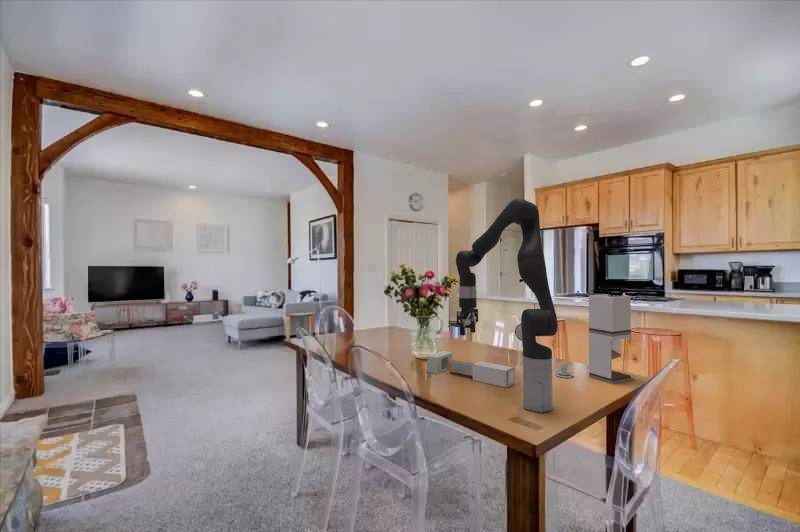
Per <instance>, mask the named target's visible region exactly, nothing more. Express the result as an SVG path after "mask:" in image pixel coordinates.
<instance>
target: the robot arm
mask: <svg viewBox="0 0 800 532" xmlns="http://www.w3.org/2000/svg"><path fill="white" fill-rule="evenodd" d="M513 223H514V224H516V225H518V226H520V228H521V234H522V242H521V245H520V247H519V250H518V253H517V259H516V260H517V267H518V274H519V277H520V278H521V280H522V281H523V282H524V284H525V285H526V287H528V288H529V290H531V292H532V293H533V295H534V296H535V298H536V300H537V302H538V305H539V308H527V309H524V310H523V311H522V313H521V318H520V324H521V328H522V341H521V344H522V346H521V347H522V363H523V364H522V367H523V368H522V370H523V371H522V376H523V377H522V378H523V379H522V380H523V381H522V384H523V385H522V387H523V388H522V391H523V393H522V394H523V398H522V399H523V402H522V403H523V409H525V410H528V411H533V412H537V413H540V414H543V413H546V412H551V411H552V410H553V351H552V348H551V347H549V346H548V345H547V346H546V345H544V344H541V343H539V342H537V337H554V336H555V335H556V334H557V332H558V326H559V325H558V324H559V323H558V318H557V317H558V316H557V313H556V309H555V305H554V302H553V298H552V294H551V290H550V286H549V280H548V273H547V266H546V259H545V256H544V251H543V243H542V237H541V227H540V226H541V225H540V224H541V223H540V213H539V208H538V206H537V205H536V204H535V203H533V202H531V201H528V200H526V199H524V198H521V197H520V198H519V197H518V198H517V197H516V198H514V199H512V200H511V201H510V202H509V203H507V205H506V206H505V207H504V209H503V210H502V211H501V213H499V215H498V216H497V218H495V220H494V221H493V222H492V224H491V225H490V226H489V227H488V228H487V230H486V231H484V233H482V234H481V235H480V236H479V237H478V238H476V240H475V241H473V243H472V244H471V250H460V251H458V252H457V254H456V257H455V265H456V268H457V273H458V277H459V287H458V307H459V308H460V309H461V310H460V311H456V326H459V335H460V336H466V325H467V323H468V322H469V323H470V324H469V328H470V329H469V330H470V331H469V332H470V333H475V334H476V324H477V323H479V309H478V308H477V304H478V303H477V301H478V300H477V277H476V274H475V273H474V272H472V271H471V269H470V268H471V267H472V268H474V267H475V266H478V264H479V263H480V262H481V261H482V260H483V258H484V257H485V255H486V254H487V253H489V252H490V251H492V249H494V248H495V246H497V244H498V243H499V242H500V239H501V237H502V234H503V231H504V230H505V229H506V228H508V227H509V226H510V225H512V224H513Z"/></svg>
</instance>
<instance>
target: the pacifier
mask: <svg viewBox="0 0 800 532" xmlns="http://www.w3.org/2000/svg"><path fill="white" fill-rule="evenodd" d="M560 367H561V370H559V369H557V368H555V372H556V374H555V376H556V377H559V378H564V379H571V378H572V377H573V376H571V375H572V374H574V371H568V367H569V364H568V362H567V361H561V363H560Z"/></svg>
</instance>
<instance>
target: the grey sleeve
mask: <svg viewBox="0 0 800 532" xmlns="http://www.w3.org/2000/svg"><path fill="white" fill-rule="evenodd" d="M472 381H474V382H475V381H476V382H480V383H484V384H485V383H486V384H489V385H493V386H498V387H502V388H507V389H508V387H509V388H510V387H511V386H513V385H515V367H513V366H509V365H508V366H506V365H503V364H495V363H491V362H486V361H481V360H479V361H477V362H475V363H474V364H473V375H472Z"/></svg>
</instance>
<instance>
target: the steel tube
mask: <svg viewBox="0 0 800 532" xmlns="http://www.w3.org/2000/svg"><path fill="white" fill-rule="evenodd" d="M473 364H475V363H474V362H468V361H465V360H464V361H463V360H457V359H453V358H452V359H451V360H449V361H447V371H451V372H456V373H461V374H464V375H469V376H473Z"/></svg>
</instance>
